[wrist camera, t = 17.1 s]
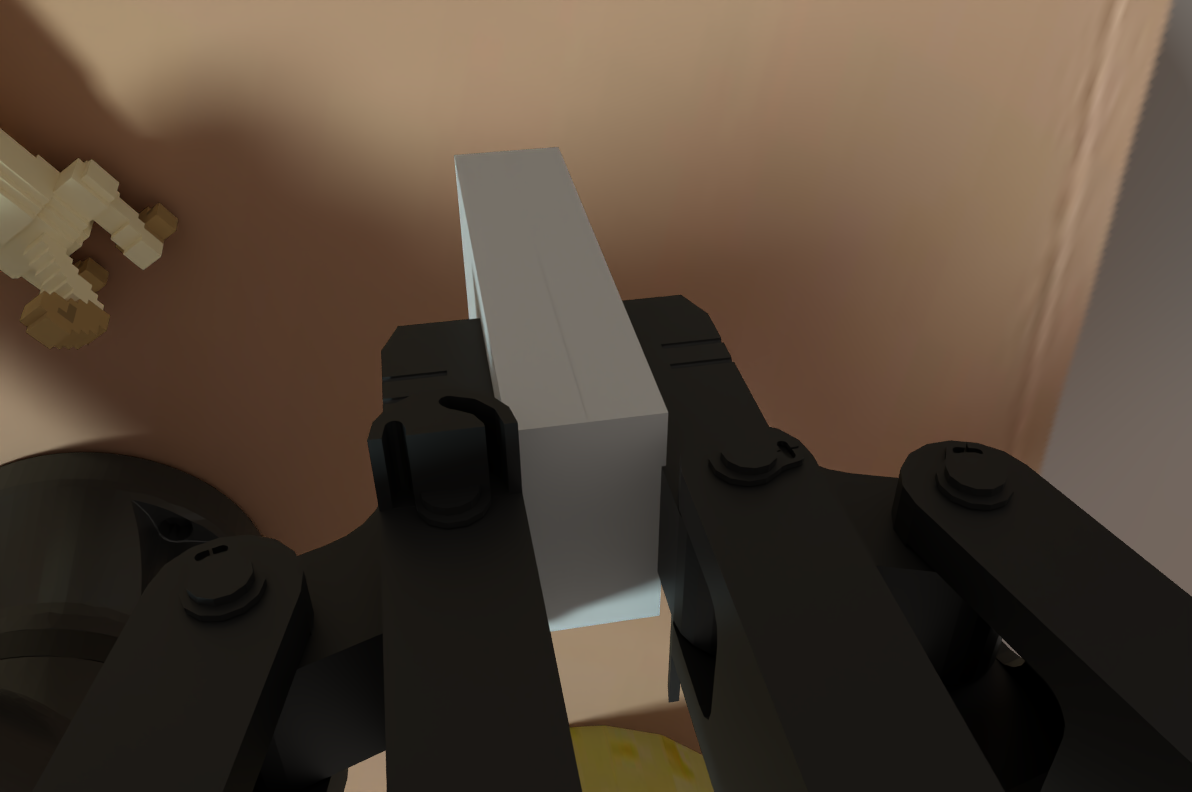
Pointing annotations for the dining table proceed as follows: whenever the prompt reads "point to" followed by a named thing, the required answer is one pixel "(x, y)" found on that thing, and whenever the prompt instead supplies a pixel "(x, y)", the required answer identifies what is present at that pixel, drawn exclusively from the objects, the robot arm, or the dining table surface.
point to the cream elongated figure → (67, 240)
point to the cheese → (636, 762)
